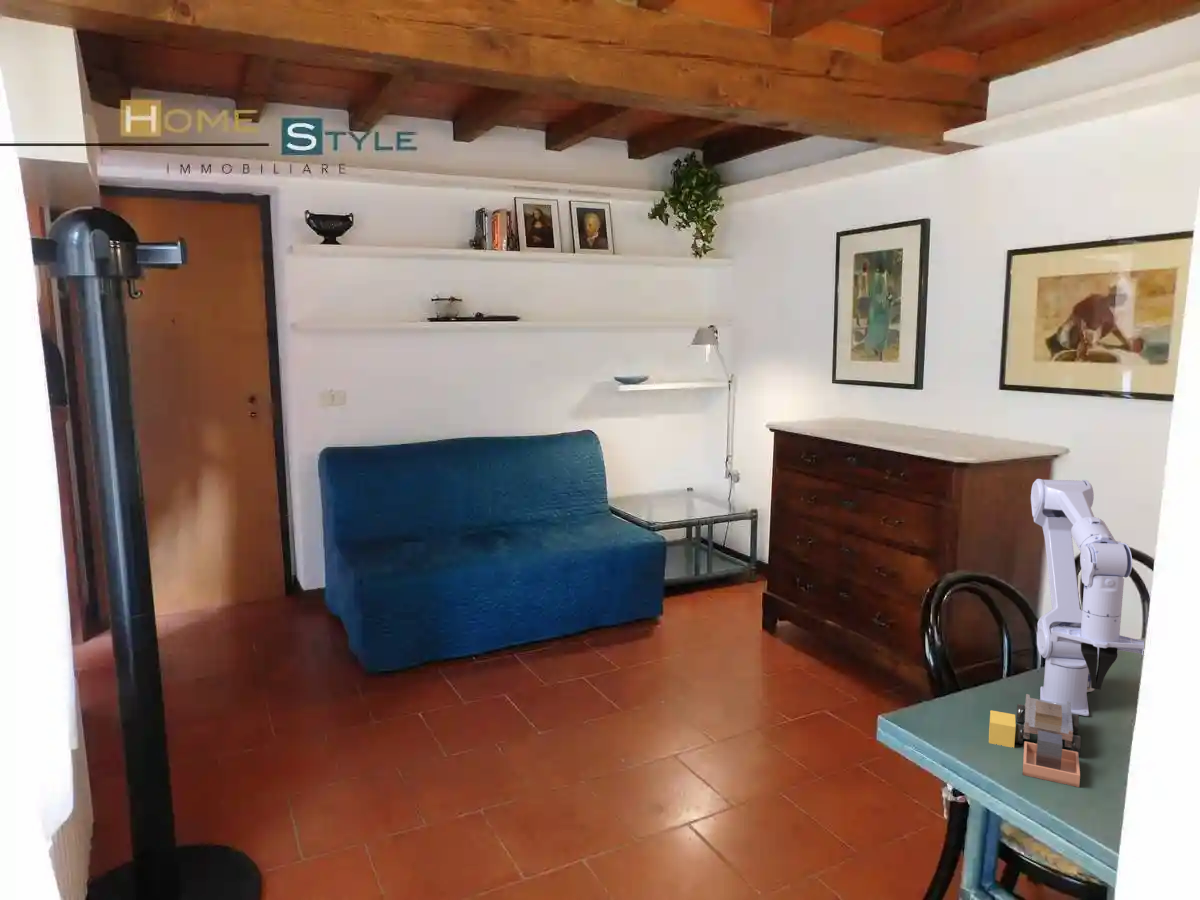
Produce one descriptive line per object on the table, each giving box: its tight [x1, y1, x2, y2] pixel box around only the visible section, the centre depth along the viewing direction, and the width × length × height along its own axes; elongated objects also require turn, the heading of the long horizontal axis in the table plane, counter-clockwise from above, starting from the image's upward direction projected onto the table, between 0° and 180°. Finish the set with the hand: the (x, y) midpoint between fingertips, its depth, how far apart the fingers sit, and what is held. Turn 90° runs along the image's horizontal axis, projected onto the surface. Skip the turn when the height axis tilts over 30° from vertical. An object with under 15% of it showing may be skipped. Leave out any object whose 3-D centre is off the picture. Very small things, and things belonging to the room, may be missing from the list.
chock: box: [988, 710, 1017, 749], centre depth 145 cm, size 5×4×4 cm
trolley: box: [1015, 693, 1082, 757], centre depth 145 cm, size 12×10×6 cm
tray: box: [1022, 740, 1081, 788], centre depth 135 cm, size 8×8×2 cm
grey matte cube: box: [1036, 731, 1063, 770], centre depth 135 cm, size 4×4×5 cm
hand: (1095, 686), depth 141 cm, fingers closed
